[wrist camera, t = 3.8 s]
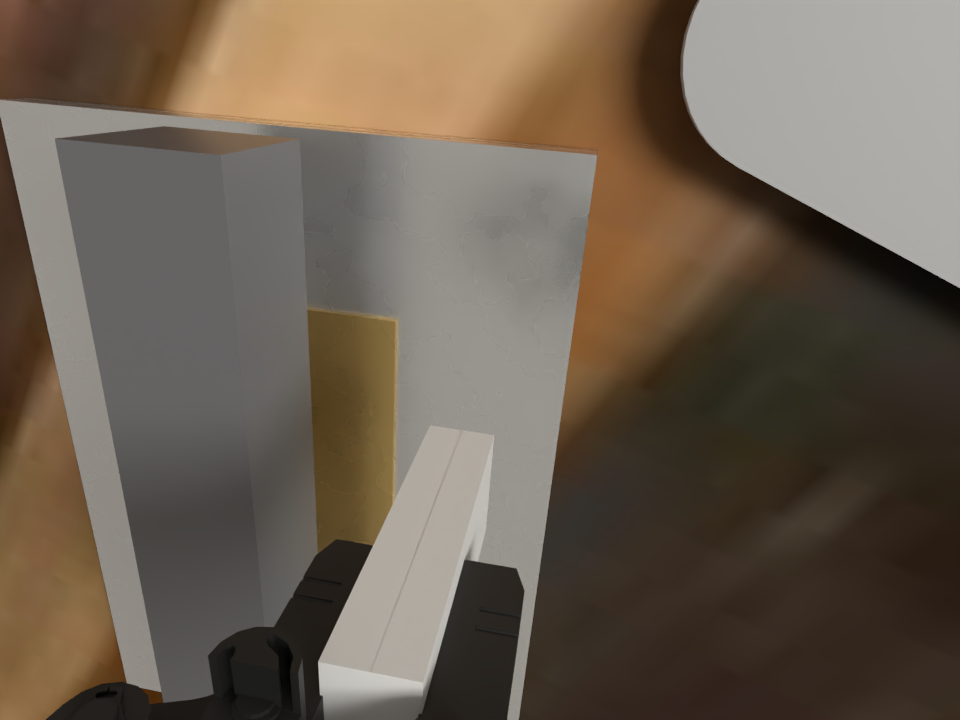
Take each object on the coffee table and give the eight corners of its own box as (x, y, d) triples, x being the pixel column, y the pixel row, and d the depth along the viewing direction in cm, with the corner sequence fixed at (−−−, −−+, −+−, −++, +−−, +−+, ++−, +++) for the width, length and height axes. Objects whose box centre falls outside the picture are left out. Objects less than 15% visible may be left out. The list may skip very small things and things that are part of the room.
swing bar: (306, 139, 17) (229, 156, 14) (332, 780, 29) (292, 881, 25) (157, 125, 18) (46, 137, 14) (239, 759, 29) (188, 854, 26)
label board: (597, 149, 20) (595, 165, 17) (515, 739, 32) (504, 824, 28) (32, 98, 23) (-75, 102, 19) (146, 660, 34) (92, 729, 31)
